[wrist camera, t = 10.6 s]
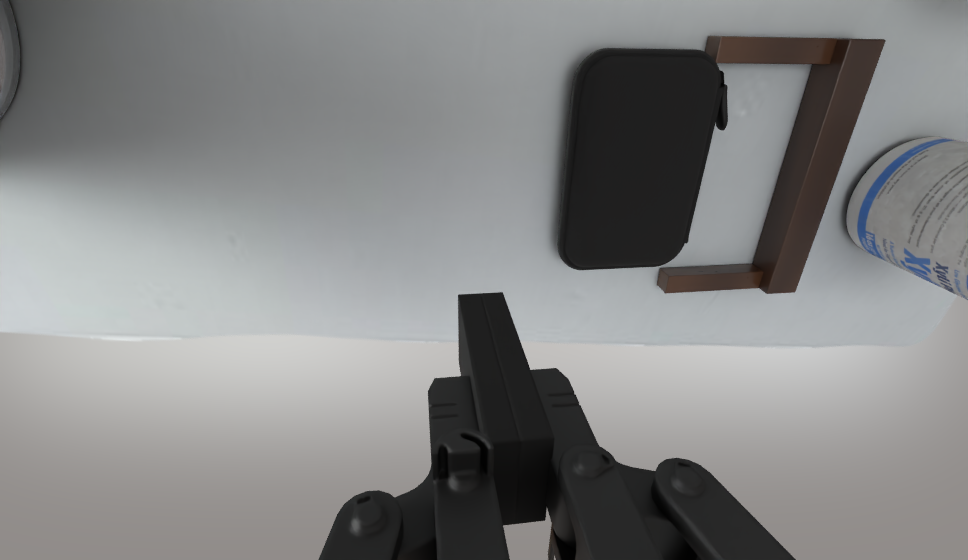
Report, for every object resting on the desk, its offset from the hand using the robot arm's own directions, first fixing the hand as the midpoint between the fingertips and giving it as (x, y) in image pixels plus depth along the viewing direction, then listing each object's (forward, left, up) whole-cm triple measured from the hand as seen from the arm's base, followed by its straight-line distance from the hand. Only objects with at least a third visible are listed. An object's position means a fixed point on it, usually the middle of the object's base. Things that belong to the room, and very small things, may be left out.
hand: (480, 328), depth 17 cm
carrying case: (+13, +1, -19) cm, 23 cm away
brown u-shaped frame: (+22, 0, -18) cm, 29 cm away
